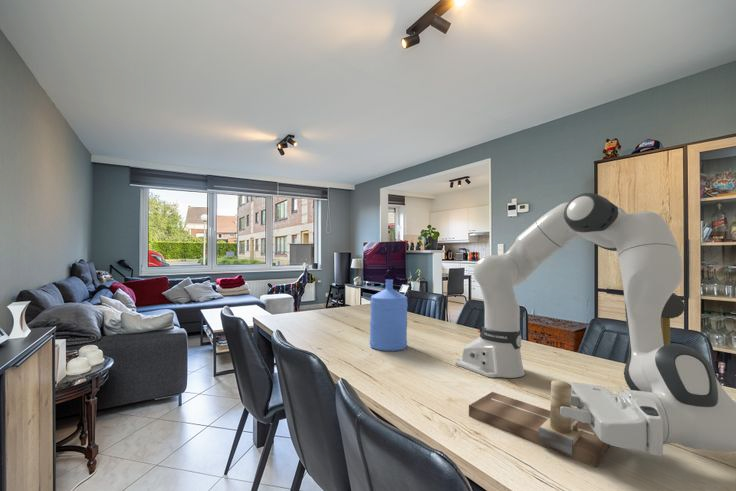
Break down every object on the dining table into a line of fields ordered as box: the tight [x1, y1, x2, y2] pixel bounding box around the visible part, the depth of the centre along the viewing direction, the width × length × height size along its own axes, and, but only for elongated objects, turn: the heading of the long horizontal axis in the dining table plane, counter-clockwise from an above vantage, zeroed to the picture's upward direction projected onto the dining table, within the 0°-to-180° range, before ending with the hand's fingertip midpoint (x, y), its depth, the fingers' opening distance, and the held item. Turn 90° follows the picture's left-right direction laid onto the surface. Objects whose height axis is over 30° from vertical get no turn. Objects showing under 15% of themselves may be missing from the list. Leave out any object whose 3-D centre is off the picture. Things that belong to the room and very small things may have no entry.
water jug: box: [369, 278, 409, 352], centre depth 140 cm, size 16×16×28 cm
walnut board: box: [468, 391, 610, 468], centre depth 75 cm, size 26×12×3 cm, turn 43°
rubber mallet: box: [661, 292, 686, 346], centre depth 93 cm, size 12×8×30 cm, turn 146°
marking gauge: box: [538, 380, 581, 455], centre depth 68 cm, size 6×6×12 cm
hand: (556, 404), depth 68 cm, fingers closed on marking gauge, 4 cm apart
